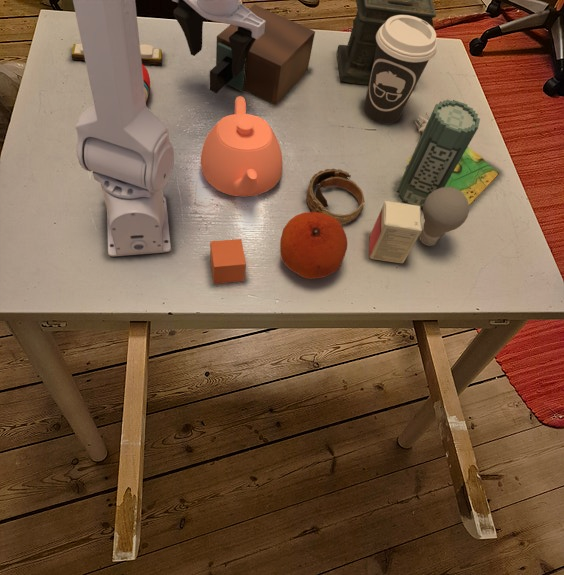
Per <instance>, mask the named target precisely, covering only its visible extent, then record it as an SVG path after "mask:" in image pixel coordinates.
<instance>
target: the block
mask: <svg viewBox="0 0 564 575" xmlns="http://www.w3.org/2000/svg"><path fill="white" fill-rule="evenodd" d="M209 245H210V246H209V260H210V261H209V262H210V269H211V274H212V275H211V276H212V281H213V285H217V284H227V283H238V282H244V281H245V276H246V267H247V263H246V262H247V261H246V256H245V252H244V251H245V250H244V247H243V241H242V238H236V239H222V240H211V241H210V243H209Z"/></svg>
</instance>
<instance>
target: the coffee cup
mask: <svg viewBox="0 0 564 575" xmlns="http://www.w3.org/2000/svg"><path fill="white" fill-rule="evenodd" d="M376 41H377V48H376V52H375V57H374V62H373V67H372V71H371V76H370V81H369V85H368V86H367V90H366V95H365V100H364V105H363V111H364V113H365V115H366V116H367V117H368V118H369V119H371V120H372V121H374V122H376V123H380V124H386V125H388V124H393V123H396V122H397V121H398V120H399V119H400V117H401V115H402V114H403V112H404V109H405V107H406V105H407V104H408V102H409V100H410V98H411V97H412V94H413V92H414V90H415V88H416V86H417V84H418V82H419V80H420V78H421V76H422V74H423V72H424V70H425V68H426V67H427V65H428V63H429V61H430V60H431V59H433V58H434V57H435V55H436V54H437V49H438V40H437V33H436V30H435V28H434V29H433V27H432V26H431V25H430V24H428V23H427V22H426V21H424V20H422V19H420V18H417V17H414V16H409V15H396V16H393V17H390V18H389V19H388V20H387V21H386V22H385V23H384V24H383V25H382V26H381V27H380V29H379V30H378V32H377V34H376Z"/></svg>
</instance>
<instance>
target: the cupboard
mask: <svg viewBox="0 0 564 575" xmlns="http://www.w3.org/2000/svg"><path fill="white" fill-rule="evenodd" d="M248 9H249V10H250V11H251V12H252V13H254V14H255V15H256V16H258V17H259V18H261V19H263V20H265V31H264V34H263V35H262V36H261V37H260V38H259V39H256V40H255V42H254V43H253V45H252V47H251V49H250V51H249V53H248V55H247V58H246V65H245V78H244V90H243V91H245V92H247V93H250V94H251V95H254V96H255V97H258V98H260V99H262V100H264V101H266V102H268V103H270V104H272V105H275V106H276V105H277V104H278V103H279V102H280V101H281V100H282V99H284V97H285V96H286V94H287V93H288V92H289V91H290V90H291V89H292V88H293V87H294V86H295V85H296V84H297V83H298V81H299V80H300V79H301V78H302V77H303V76H304V75H305V74H306V73H307V72H308V70H309V66H310V59H311V54H312V49H313V45H314V39H315V34H316V31H315V30H314V29H311V28H309V27H307V26H304V25H302V24H299V23H297V22H295V21H292V20H290V19H288V18H286V17H284V16H281V15H279V14H277V13H274V12H273V11H270V10H268V9H266V8H264V7H261V6H259V5H257V4H252V6H251V7H250V8H248ZM237 30H238V27H236V26H233V25H230V24H228V26H227V27H226V28H225V29H223V30H222V31H221V32H220V33H219V34H217V35H216V44H217V43H222V44H224V45H226V46H228V47H230V48H231V45H230V41H229V37H230V36H231V35H232V34H233V33H234V32H236V31H237ZM215 48H216V52H215V55H216V56H215V66H216V65H217V45H216V47H215Z"/></svg>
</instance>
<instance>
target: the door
mask: <svg viewBox="0 0 564 575" xmlns="http://www.w3.org/2000/svg"><path fill="white" fill-rule="evenodd" d="M216 46H217V65H216V64H215V65H214V66H213V67H212V69H210V70H209V91H210V92H213V93H215V94H218V93H219V92H220V91H221V90H222V89H223V88H224V87H226V85H228V86H229V87H232V88H234V89H236V90H238V91H240V92H244V91H245V90H244V83H245V70H246V60H245V63H244V67H243V70H242V71H241V72H240V73H239V74H238V75H237V76H235V75H233V74H232V50H231V48H230V47H228V46H226V45H224V44H222V43H217V42H216Z"/></svg>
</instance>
